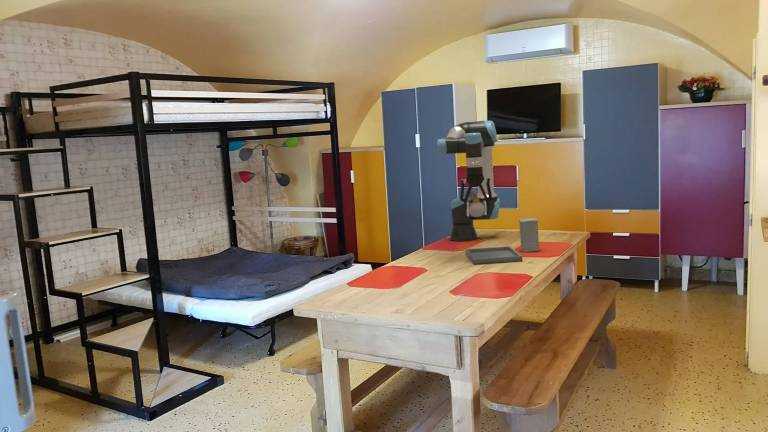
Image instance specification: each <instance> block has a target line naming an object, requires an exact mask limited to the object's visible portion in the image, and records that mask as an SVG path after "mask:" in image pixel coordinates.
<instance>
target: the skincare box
mask: <svg viewBox="0 0 768 432" xmlns="http://www.w3.org/2000/svg"><path fill="white" fill-rule="evenodd" d="M538 221H539V220H538V219H537V217H531V218H519V221H518V222H519V234H520V235H519V238H520V250H521V251H522V253H529V252H530V253H531V252H539V251H540V243H539V240H540V239H539V238H540V237H539V226H538V224H539V223H538Z"/></svg>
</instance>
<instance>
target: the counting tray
mask: <svg viewBox="0 0 768 432" xmlns="http://www.w3.org/2000/svg"><path fill="white" fill-rule="evenodd" d="M465 256H467V257H468V258H469V260H470V261H471V262H472V264H473V265H474V266H476V265H477V266H478V265H489V264H490V265H492V264H504V263H505V264H506V263H518V262H523V255H522V254H520V253H519V252H518V251H517V250H515V248H513V247H512V246H511V245H508V246H496V247H494V246H493V247H481V248H467V249H465Z"/></svg>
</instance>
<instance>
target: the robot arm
mask: <svg viewBox="0 0 768 432" xmlns="http://www.w3.org/2000/svg"><path fill="white" fill-rule="evenodd" d="M497 142H498V137H497V130H496V126H495V122H494V121H492V120H479V121H465V122H461V123H458V124H456V125H455V126H453V127H451V128H450V130H449V131H448V133H447V136H446V137H445V138H438V139H437V140H436V151H437V154H438V155H451V154H453V155H455V154H465V166H466V168H465V171H466V177H465V178H464V179H459V181H460V193H459V197H458V198H454V199H453V200H451V203H450V204H451V206H450V210H451V222H452V223H451V224H452V226H451V230H450V233H449V240H450V241H453V242H454V241H455V242H467V241H469V242H470V241H473V240H474V241H475V240H477V239H478V234H477V231H476V228H475V225H474V221H483V220H484V221H485V220H489V221H491V220H497V219H498V218H499V216H500V215H499V213H500V206H501V205H500V204H501V201H500V200H501V198H499V197H498V194H497V193H496V192H495V186H494V185H495V184H494V165H493V148H494V147H495V143H497ZM466 183H467V184H468V187H467V190H466V193H465V184H466ZM474 187H477V192H478V193H477V198H479V201H480V203H482V204H483V205H484V208H485V211H484V214H483V215H482V216H480V217H473V216H471V215H470V213H469V206H470V204H471V203H473V198H468V197H469V194H470V191H472V188H474ZM464 193H465V195H464Z"/></svg>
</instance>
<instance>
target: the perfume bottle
mask: <svg viewBox="0 0 768 432" xmlns="http://www.w3.org/2000/svg"><path fill="white" fill-rule="evenodd" d="M477 194H478V193H477V192H476V191H475V192H474V191H473V190H471V191H470V194H469V197H468V198H472V199H473V203H471V204H470V206H469V213H470V215H471V216H473V217H480V216H482V215H483V214H484V211H485V208H484V205H483V204H482V203H480V201H479V198H477Z"/></svg>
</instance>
